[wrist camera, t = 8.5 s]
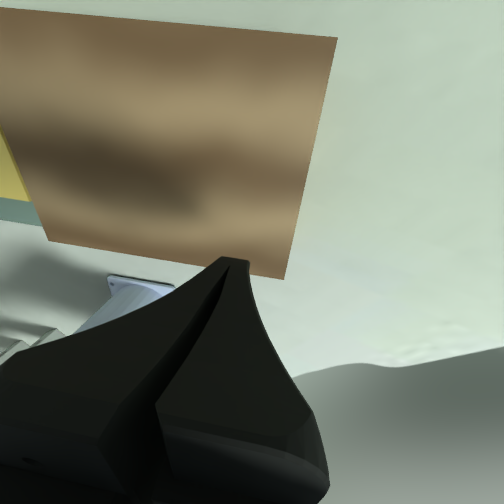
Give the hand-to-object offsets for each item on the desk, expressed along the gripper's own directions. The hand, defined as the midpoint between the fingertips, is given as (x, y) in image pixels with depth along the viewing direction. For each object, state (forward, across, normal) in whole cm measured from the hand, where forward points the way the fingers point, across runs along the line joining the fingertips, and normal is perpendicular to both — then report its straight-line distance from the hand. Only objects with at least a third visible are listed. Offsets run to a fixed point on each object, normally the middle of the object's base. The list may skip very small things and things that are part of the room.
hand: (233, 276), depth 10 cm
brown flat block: (+10, +7, -3) cm, 12 cm away
